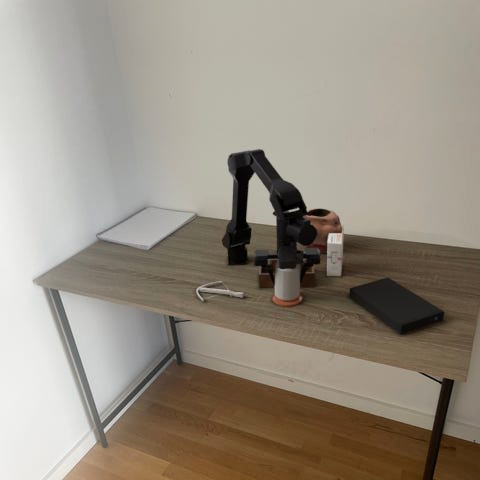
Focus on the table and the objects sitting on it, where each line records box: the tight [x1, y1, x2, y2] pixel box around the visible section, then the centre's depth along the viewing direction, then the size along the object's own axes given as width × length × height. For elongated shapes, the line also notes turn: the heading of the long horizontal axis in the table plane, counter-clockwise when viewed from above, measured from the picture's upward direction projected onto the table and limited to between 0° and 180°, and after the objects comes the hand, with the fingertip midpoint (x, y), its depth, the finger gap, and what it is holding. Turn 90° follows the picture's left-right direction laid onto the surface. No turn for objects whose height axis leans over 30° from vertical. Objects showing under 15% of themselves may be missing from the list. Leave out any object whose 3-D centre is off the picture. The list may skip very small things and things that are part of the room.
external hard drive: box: [348, 277, 445, 336], centre depth 132 cm, size 14×23×3 cm, turn 24°
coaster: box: [272, 293, 303, 307], centre depth 141 cm, size 9×9×1 cm
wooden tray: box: [258, 260, 316, 289], centre depth 151 cm, size 17×12×5 cm
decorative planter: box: [303, 207, 345, 254], centre depth 168 cm, size 20×12×14 cm, turn 60°
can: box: [274, 260, 301, 301], centre depth 138 cm, size 8×8×12 cm
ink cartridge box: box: [326, 227, 345, 277], centre depth 151 cm, size 9×5×15 cm, turn 168°
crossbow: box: [195, 280, 245, 302], centre depth 146 cm, size 16×13×2 cm
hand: (287, 283), depth 138 cm, fingers closed on can, 8 cm apart
